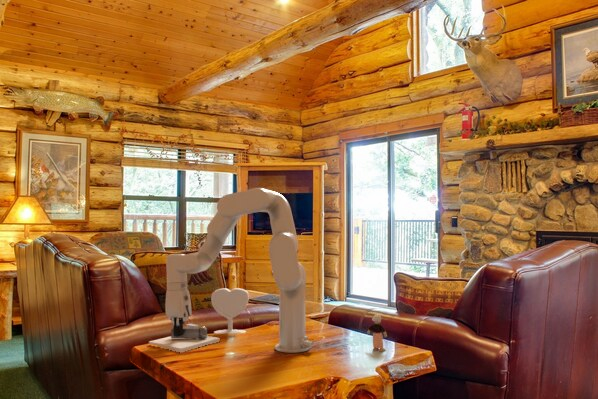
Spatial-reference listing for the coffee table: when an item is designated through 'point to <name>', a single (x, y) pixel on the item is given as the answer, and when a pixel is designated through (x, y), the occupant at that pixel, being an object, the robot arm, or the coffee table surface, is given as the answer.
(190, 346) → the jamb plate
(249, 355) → the coffee table surface
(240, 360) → the coffee table surface
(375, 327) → the grandmother figurine
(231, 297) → the heart sculpture
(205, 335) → the lock bar
